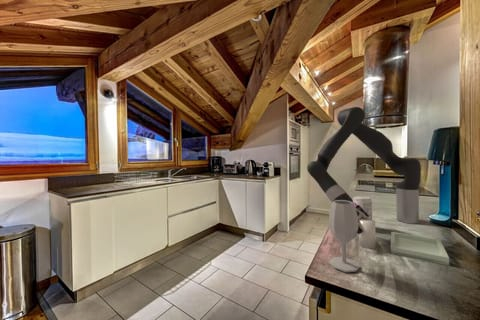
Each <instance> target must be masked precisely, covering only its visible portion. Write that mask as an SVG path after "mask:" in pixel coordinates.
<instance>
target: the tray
mask: <svg viewBox="0 0 480 320" xmlns="http://www.w3.org/2000/svg"><path fill="white" fill-rule="evenodd" d="M390 254H394V255H397V256H401V257H406V258H411V259H416V260H421V261H426V262H430V263H435V264H439V265H443V266H449V267H450V257H449V255H448V253H447V250H446V249H445V247H444V245H443V243H442V241H441V239H437V238H432V237H427V236H419V235H413V234H407V233H401V232H396V231H391V233H390Z"/></svg>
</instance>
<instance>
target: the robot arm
mask: <svg viewBox="0 0 480 320" xmlns="http://www.w3.org/2000/svg"><path fill="white" fill-rule="evenodd" d="M365 118H366V113H365V111H364V109H363V108H362V107H359V106H352V107H349V108H344V109H342V110H341V111H339V112H338V113H337V116H336V119H337V122H338V124H339V125H340V128H339V129H338V130H337V131H336V132H335V133H334V134H333V135H331V137H329V139H327V140H326V141H325V142H324V144H323V146H322V148H321V149H320V151H318V153H317V159H316V160H315V161H310V162H309V163H308V164H307V167H306V168H307V169H306V170H307V172H308V173H309V175H310V176H311V177H312V178H313V179H314V181H315V182H316V183H317V184H318V185H319V188H321V190H322V191H323V192H324V193H325V195H326V197H327V199H328V200H329V201H330V202H331V203H332V202H333V201H335V200H345V201H351V202H353V200H352V199H353V197H351V196H350V195H349V193H348V192H346V190H344V188H343V187H342V186H340V184H339V183H338V182H337V181H336V180H335V179H334V178H333V177H332V176H331V175H330V174H329V172H328V168H329V167H330V164H331V162H332V161H333V159H334V158H335V156H336V154H337V153H338V152H339V150H340V149H341V147H342V146H343V145H344V144H345V142H347V140H348V139H349V138H350V137H351V135H353V136H354V137H356V138H357V139H358V140H359V141H360V142H362V143H363V144H364V145H365V146H366V147H367V148H368V149H369V150H371V152H373V154H375V155H376V156H378V158H380V160H381V161H383V162H384V163H385V164H386V165H387V167H388V168H389V169H390V170H391V171H392V172H393V173H395V174H396V175H398V176H404V179H403V180H401V181H397V182H396V185H395V195H396V198H395V199H396V201H395V202H396V208H395V209H396V210H395V211H396V221H398V222H400V223H404V224H406V223H407V224H419V223H420V197H419V196H420V195H419V194H420V193H419V188H420V184H421V177H422V176H421V175H422V174H421V172H422V165H421V163H420V161H419V160H418V159H417V158H414V157H413V158H405V157H400V156H399V155H397V154H396V153H395V152H394V151H393V148H394V147H393V143H392V141H391V140H390V139H389V138H388V137H387V136H386V135H385V134H384V133H382V132H381V131H379V130H377V129H375V128H372V127H371V126H368V125H366V124H365V123H363V121H365ZM355 208H356V211H357V217H358V219H361V217H362V218H365V219H368V217H369V215H368V214H367V213H366V212H365V211H364V210H363V209H362V208H361V207H360V205H357V206H356V207H355ZM363 213H364V214H365V215H364V214H363ZM362 232H363V230H362V229H361V228H360V227H359V225H358V231H357V234H358V235H359V234H361V233H362Z"/></svg>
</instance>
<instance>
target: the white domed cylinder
mask: <svg viewBox="0 0 480 320" xmlns="http://www.w3.org/2000/svg"><path fill="white" fill-rule="evenodd" d="M359 227H360V228H361V229H362V230H363V232H362V233H361V234H358V245H359V246H360V247H362V248H364V249H369V250H373V249H374V250H375V249H376V246H377V245H376V244H377V243H376V240H377V239H376V220H374V219H372V220H371V219H365V218H361V219H359Z"/></svg>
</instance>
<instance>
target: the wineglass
mask: <svg viewBox="0 0 480 320" xmlns="http://www.w3.org/2000/svg"><path fill="white" fill-rule="evenodd" d="M328 227H329V230H330V233H331V235H332V236H333V237H334V238H335V239H336V240H337V241H338V242H340V244H341V246H340V247H341V248H340V249H341V250H340V251H341V253H340V254H341V256H333V257H332V258H330V259H329V260H328V263H329V264H330V265H331V267H333V268H334V269H336V270H338V271H340V272H343V273H357V272H358V270H359V269H360V268H361V265H360V264H359V263H357V261H355V260H353V259H351V258H347V244H348V243H349V242H352V240H354V239H355V238H356V237H357V234H358V233H357V231H358V217H357V211H356V208H355V205H354V203H353V202H351V201H345V200H335V201H333V202H331V205H330V208H329V216H328Z"/></svg>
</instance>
